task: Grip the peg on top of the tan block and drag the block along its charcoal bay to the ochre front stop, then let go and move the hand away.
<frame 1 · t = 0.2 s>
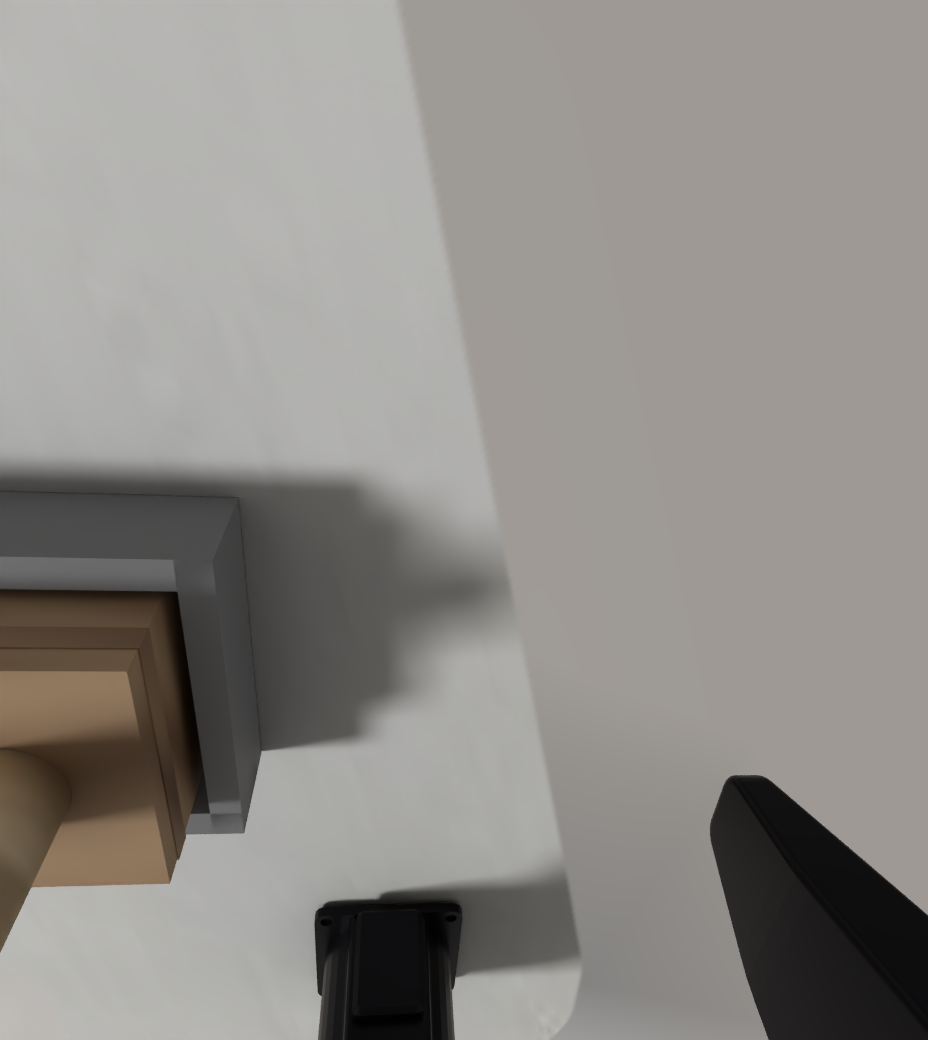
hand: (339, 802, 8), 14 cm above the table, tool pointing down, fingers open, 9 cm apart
tan block with peg: (9, 790, 19), point 6 cm above the table, slide at 0.0 cm
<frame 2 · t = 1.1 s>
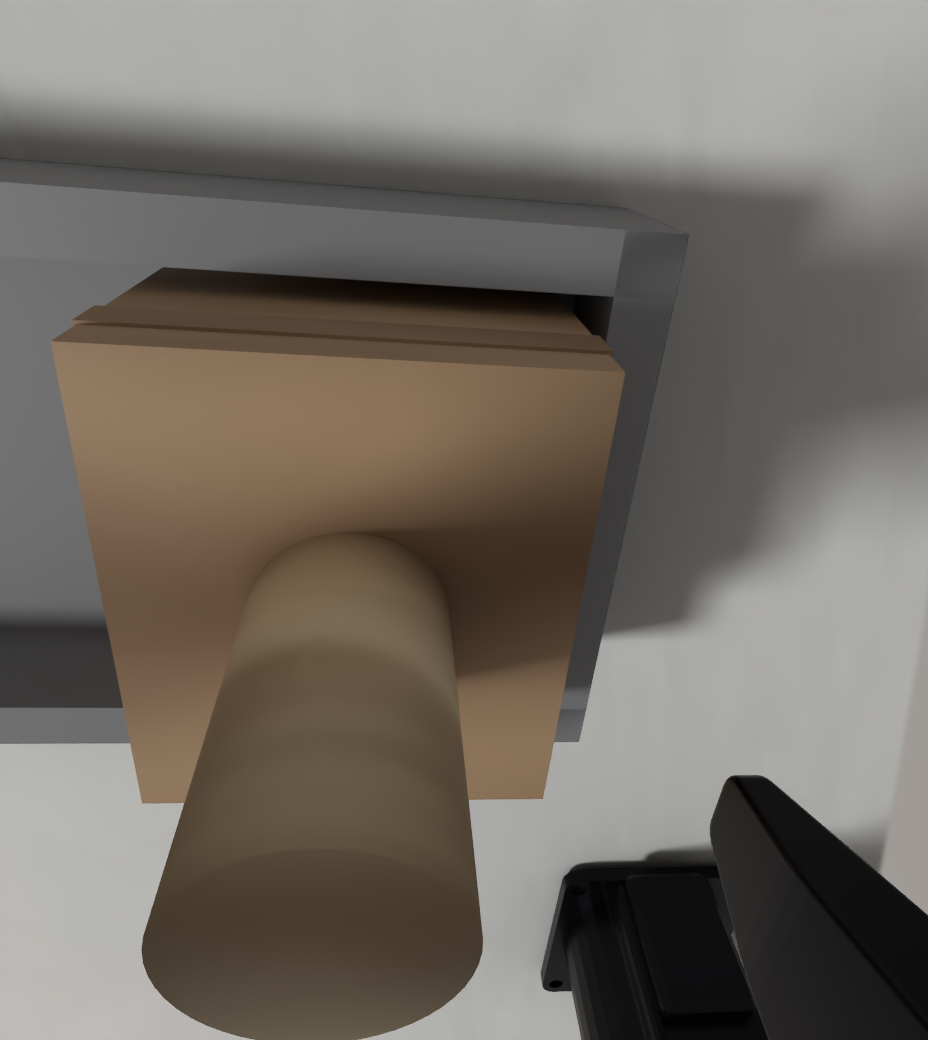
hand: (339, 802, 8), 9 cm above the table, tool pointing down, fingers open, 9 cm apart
tan block with peg: (349, 618, 11), point 6 cm above the table, slide at 0.0 cm
bay: (132, 441, 16), on the table
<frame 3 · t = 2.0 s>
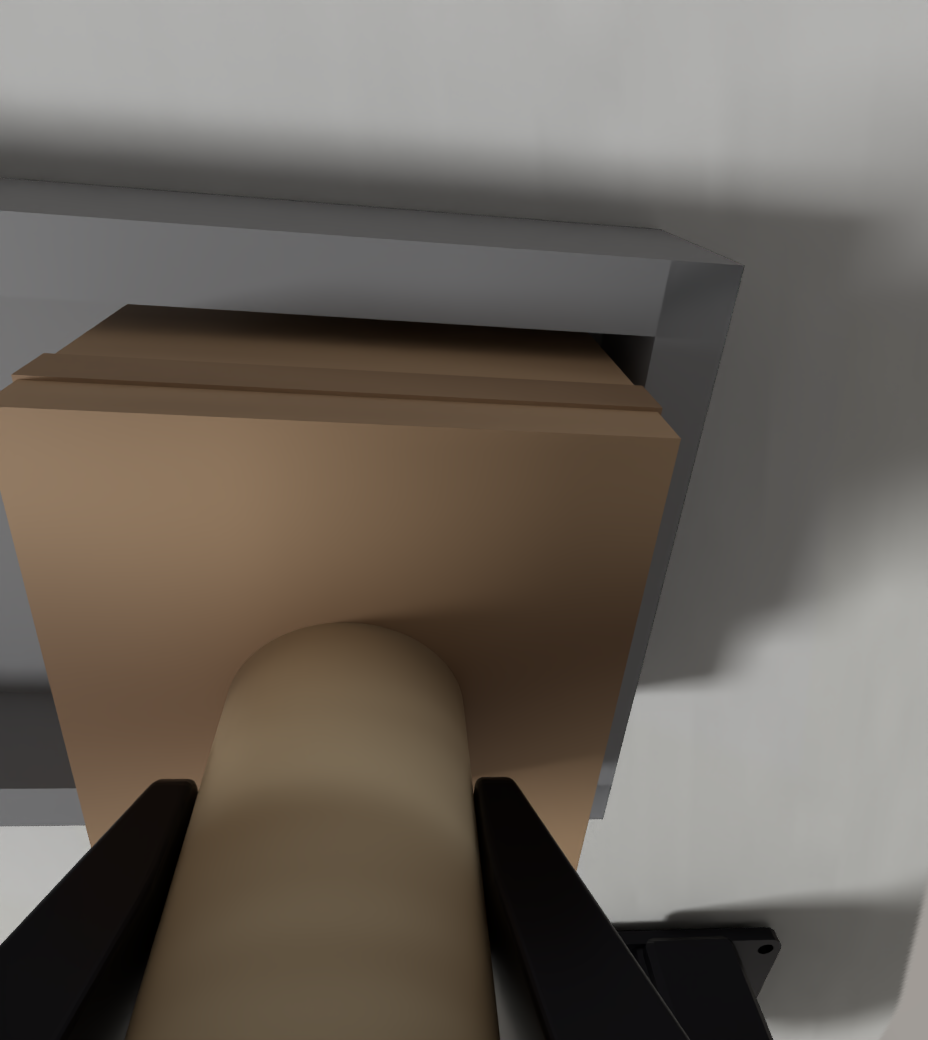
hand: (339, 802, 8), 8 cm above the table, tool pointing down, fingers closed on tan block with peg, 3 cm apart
tan block with peg: (346, 717, 9), point 6 cm above the table, slide at 0.0 cm, touching gripper
bay: (107, 486, 14), on the table
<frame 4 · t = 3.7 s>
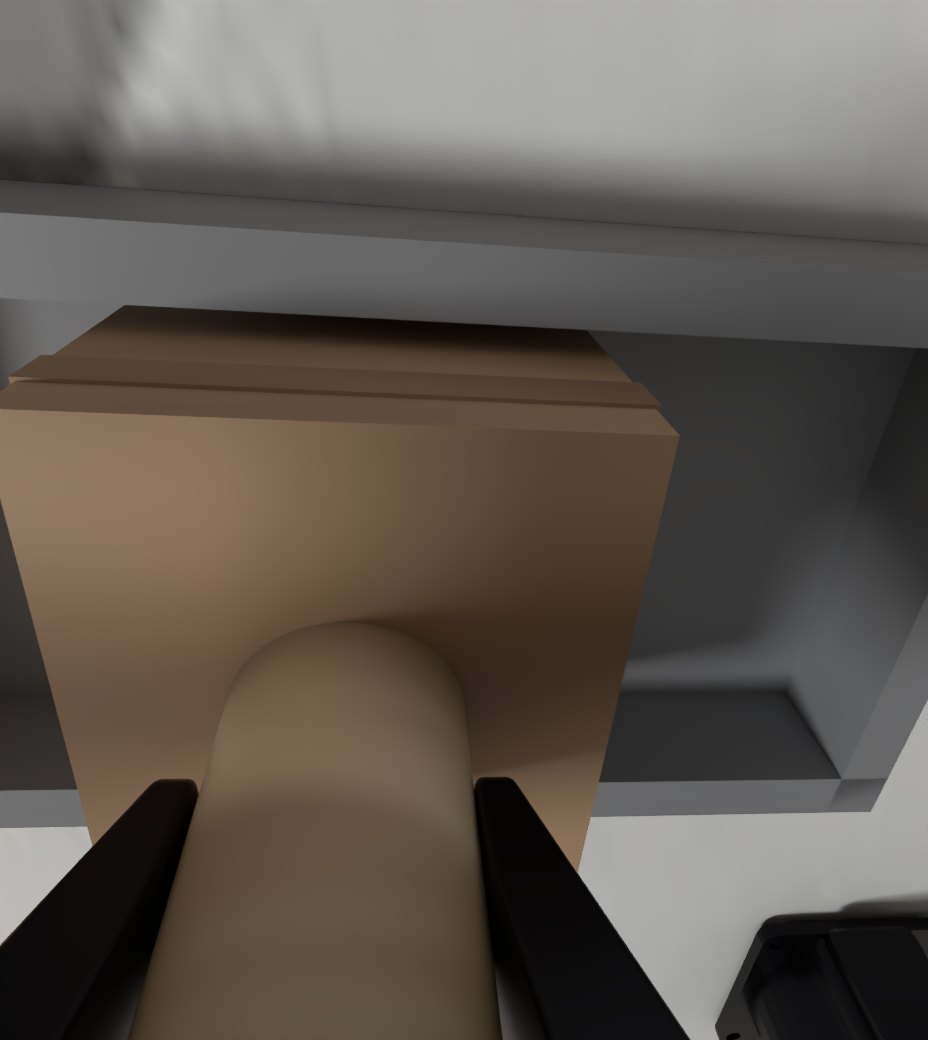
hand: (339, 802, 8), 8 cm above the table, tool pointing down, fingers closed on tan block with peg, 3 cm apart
tan block with peg: (347, 716, 9), point 6 cm above the table, slide at 5.8 cm, touching gripper
bay: (404, 495, 15), on the table
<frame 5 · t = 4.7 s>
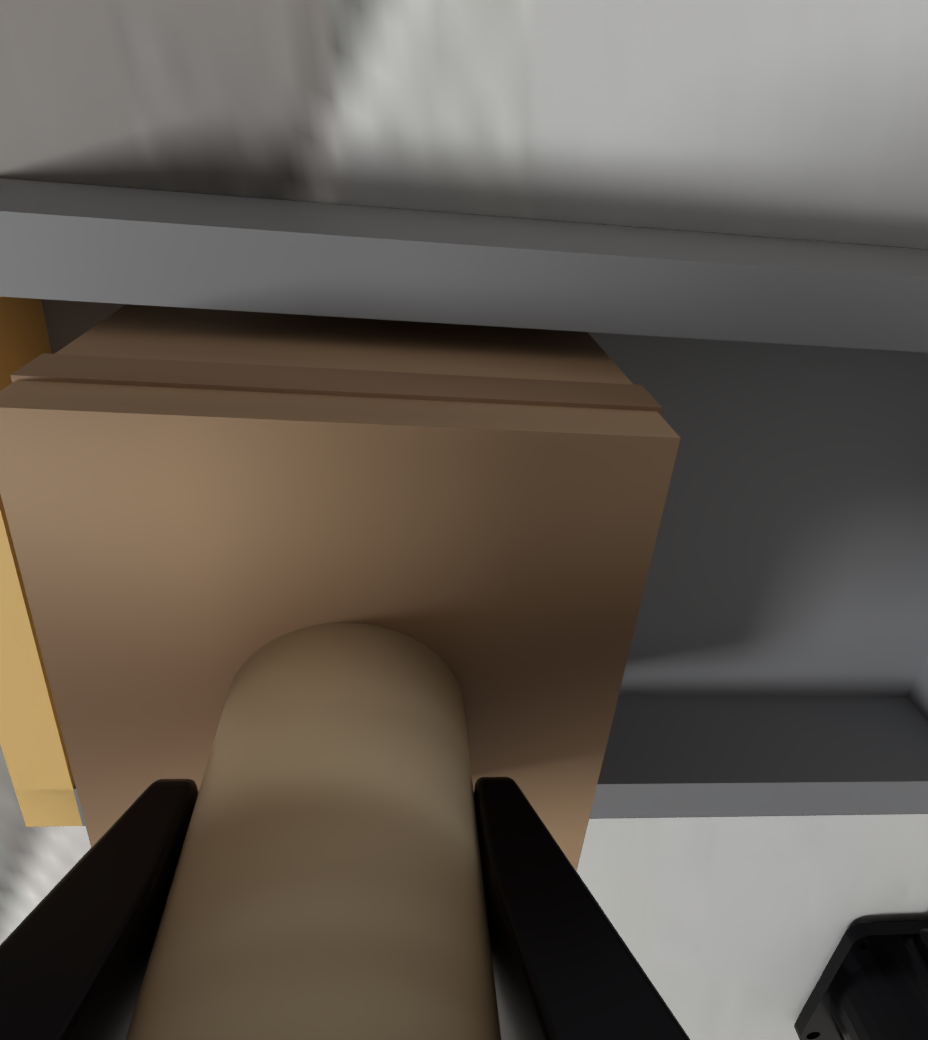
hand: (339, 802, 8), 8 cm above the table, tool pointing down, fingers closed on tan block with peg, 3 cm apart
tan block with peg: (346, 717, 9), point 6 cm above the table, slide at 8.9 cm, touching gripper
bay: (555, 501, 15), on the table
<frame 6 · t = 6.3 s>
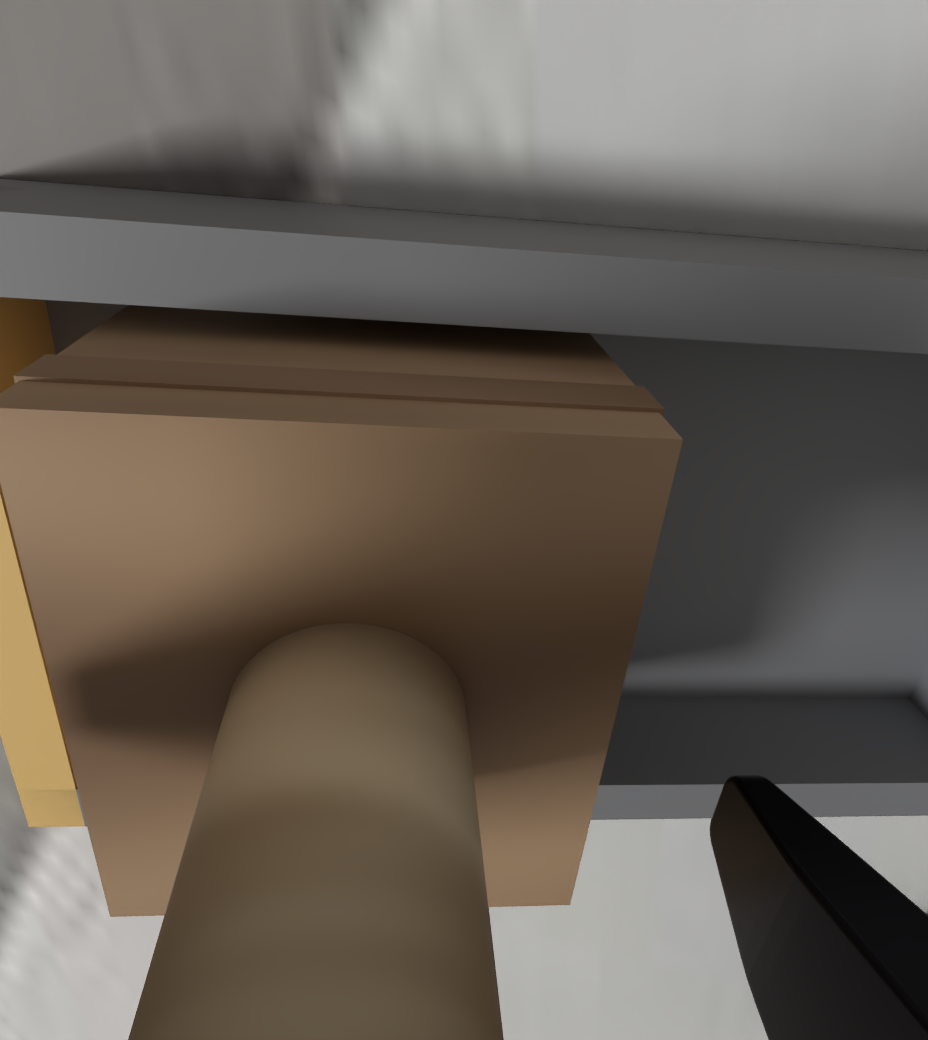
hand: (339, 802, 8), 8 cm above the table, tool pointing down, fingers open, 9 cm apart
tan block with peg: (348, 717, 9), point 6 cm above the table, slide at 8.9 cm
bay: (558, 502, 15), on the table
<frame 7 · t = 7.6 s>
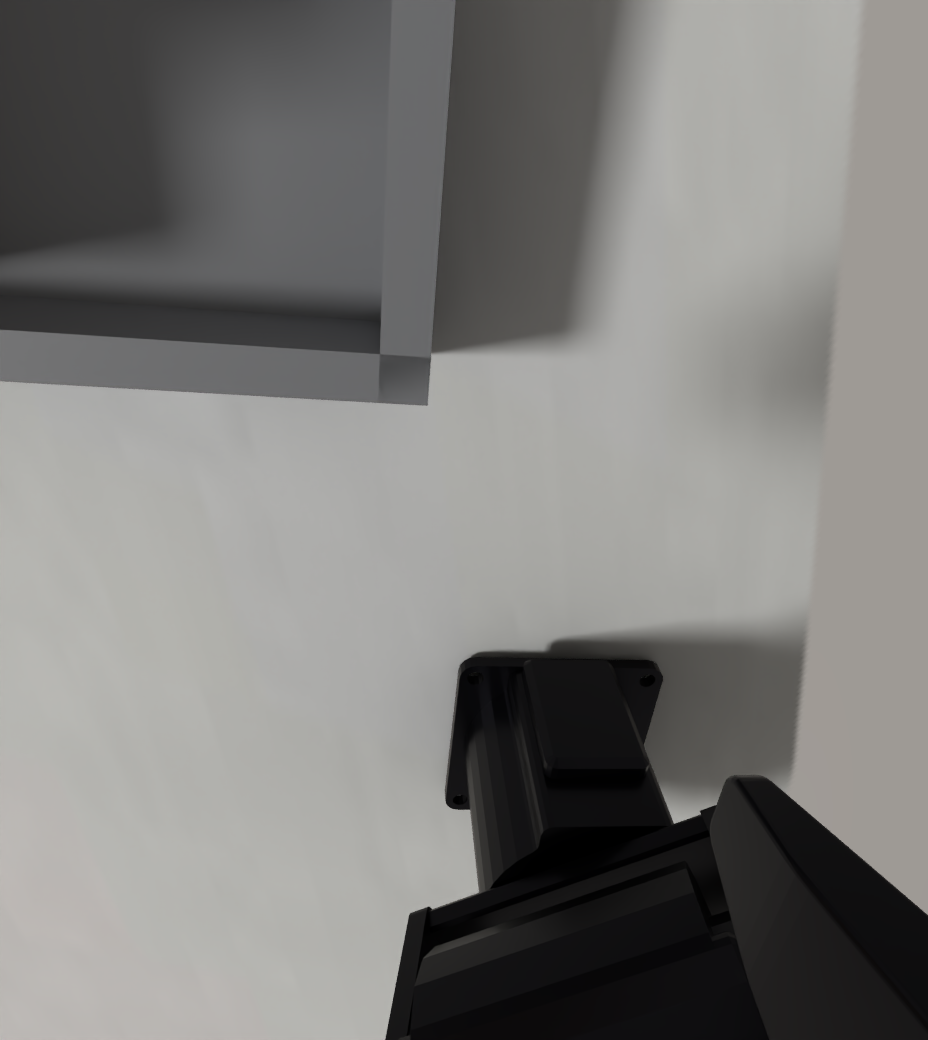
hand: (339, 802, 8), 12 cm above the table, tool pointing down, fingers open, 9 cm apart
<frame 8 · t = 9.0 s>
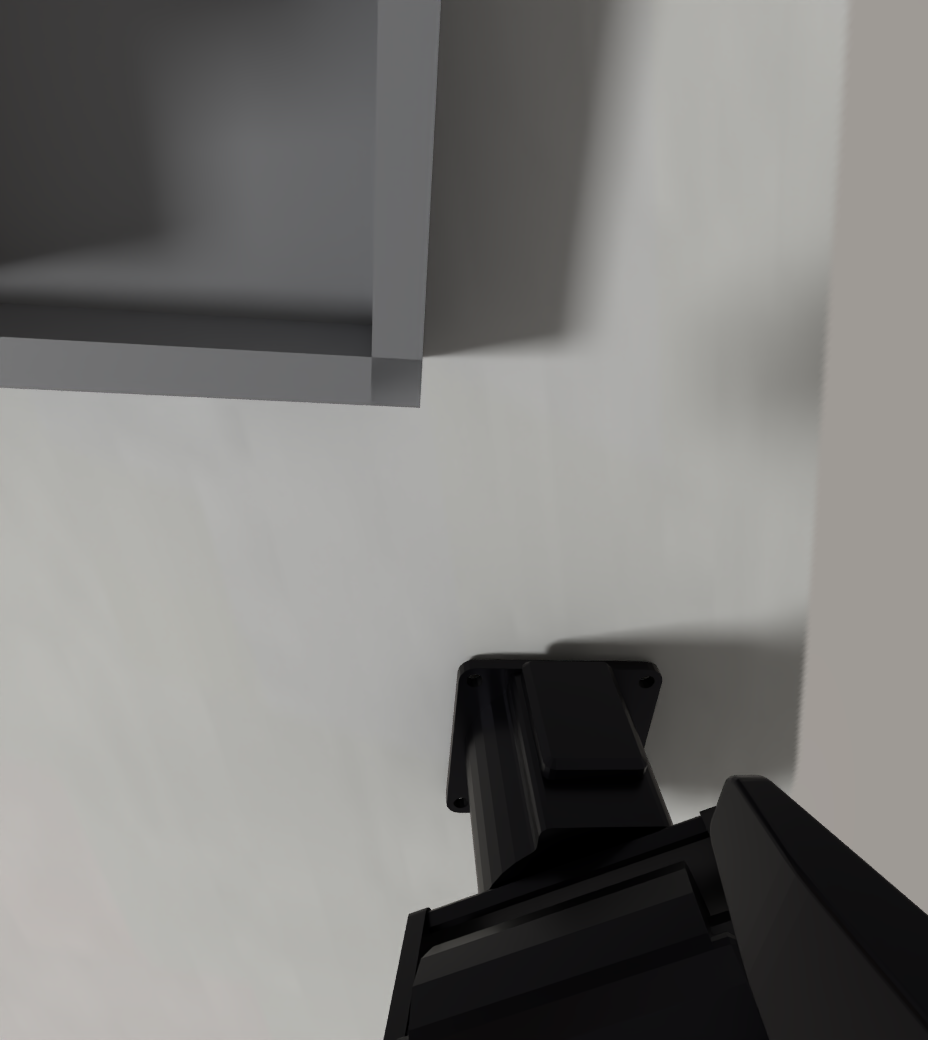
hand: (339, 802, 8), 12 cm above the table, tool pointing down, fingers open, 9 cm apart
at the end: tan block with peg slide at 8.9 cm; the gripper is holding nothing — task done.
